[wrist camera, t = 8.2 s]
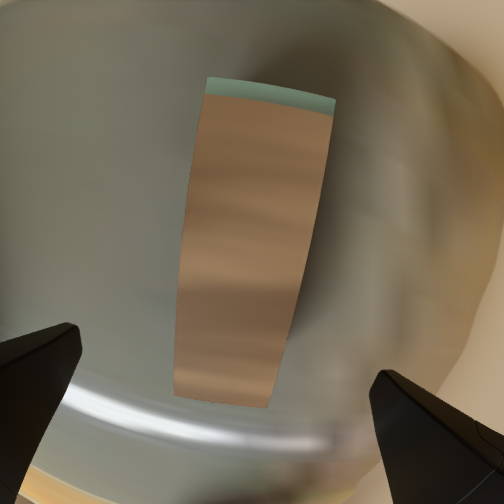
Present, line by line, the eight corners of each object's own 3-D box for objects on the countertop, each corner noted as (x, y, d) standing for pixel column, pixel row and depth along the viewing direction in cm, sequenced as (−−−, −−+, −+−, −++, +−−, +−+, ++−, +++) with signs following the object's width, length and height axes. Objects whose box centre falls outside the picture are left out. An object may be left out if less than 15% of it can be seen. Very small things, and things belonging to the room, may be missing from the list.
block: (267, 408, 11) (336, 99, 8) (173, 395, 11) (208, 76, 7) (262, 355, 15) (309, 120, 12) (189, 344, 15) (219, 104, 11)
